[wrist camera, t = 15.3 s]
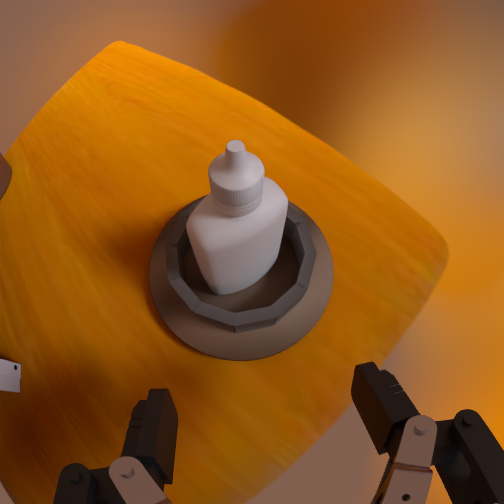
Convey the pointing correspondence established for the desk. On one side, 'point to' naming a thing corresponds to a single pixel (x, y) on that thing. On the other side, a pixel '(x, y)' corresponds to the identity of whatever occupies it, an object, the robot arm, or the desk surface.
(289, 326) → the bottle collar
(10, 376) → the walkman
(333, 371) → the desk surface
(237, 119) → the desk surface
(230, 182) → the eye dropper bottle
